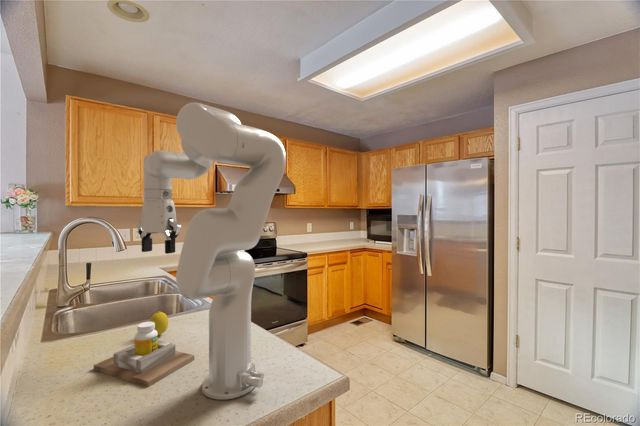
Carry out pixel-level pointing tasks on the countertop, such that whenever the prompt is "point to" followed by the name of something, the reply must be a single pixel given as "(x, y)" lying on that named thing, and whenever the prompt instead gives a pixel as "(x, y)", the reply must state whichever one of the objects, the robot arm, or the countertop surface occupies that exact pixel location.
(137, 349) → the supplement bottle
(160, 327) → the lemon
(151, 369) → the dock board
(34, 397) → the countertop surface
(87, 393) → the countertop surface
